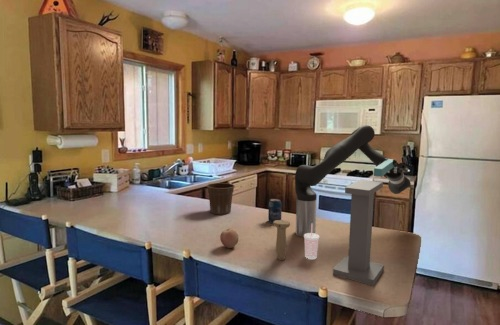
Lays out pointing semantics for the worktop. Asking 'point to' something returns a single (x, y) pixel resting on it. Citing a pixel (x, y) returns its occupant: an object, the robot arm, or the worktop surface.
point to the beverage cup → (311, 244)
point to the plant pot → (220, 197)
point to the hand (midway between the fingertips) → (389, 161)
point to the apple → (229, 238)
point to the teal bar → (383, 168)
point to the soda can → (274, 210)
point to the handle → (281, 238)
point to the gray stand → (360, 235)
